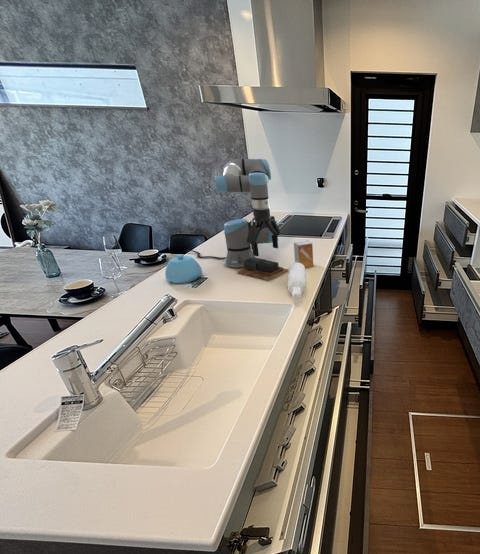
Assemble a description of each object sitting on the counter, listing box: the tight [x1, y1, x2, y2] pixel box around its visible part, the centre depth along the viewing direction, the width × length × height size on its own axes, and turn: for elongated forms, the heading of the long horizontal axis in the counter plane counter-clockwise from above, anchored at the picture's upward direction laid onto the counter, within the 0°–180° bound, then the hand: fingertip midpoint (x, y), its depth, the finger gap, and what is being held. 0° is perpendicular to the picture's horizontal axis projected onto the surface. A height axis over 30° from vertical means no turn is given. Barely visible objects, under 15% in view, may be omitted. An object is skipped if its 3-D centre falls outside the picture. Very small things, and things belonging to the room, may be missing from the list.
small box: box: [293, 240, 314, 269], centre depth 161 cm, size 8×6×13 cm
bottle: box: [287, 262, 307, 303], centre depth 134 cm, size 8×8×30 cm
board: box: [237, 256, 289, 282], centre depth 153 cm, size 20×14×6 cm
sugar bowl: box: [164, 253, 203, 284], centre depth 142 cm, size 15×15×12 cm
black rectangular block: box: [257, 259, 280, 273], centre depth 151 cm, size 8×6×5 cm
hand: (266, 251), depth 148 cm, fingers open, 13 cm apart
